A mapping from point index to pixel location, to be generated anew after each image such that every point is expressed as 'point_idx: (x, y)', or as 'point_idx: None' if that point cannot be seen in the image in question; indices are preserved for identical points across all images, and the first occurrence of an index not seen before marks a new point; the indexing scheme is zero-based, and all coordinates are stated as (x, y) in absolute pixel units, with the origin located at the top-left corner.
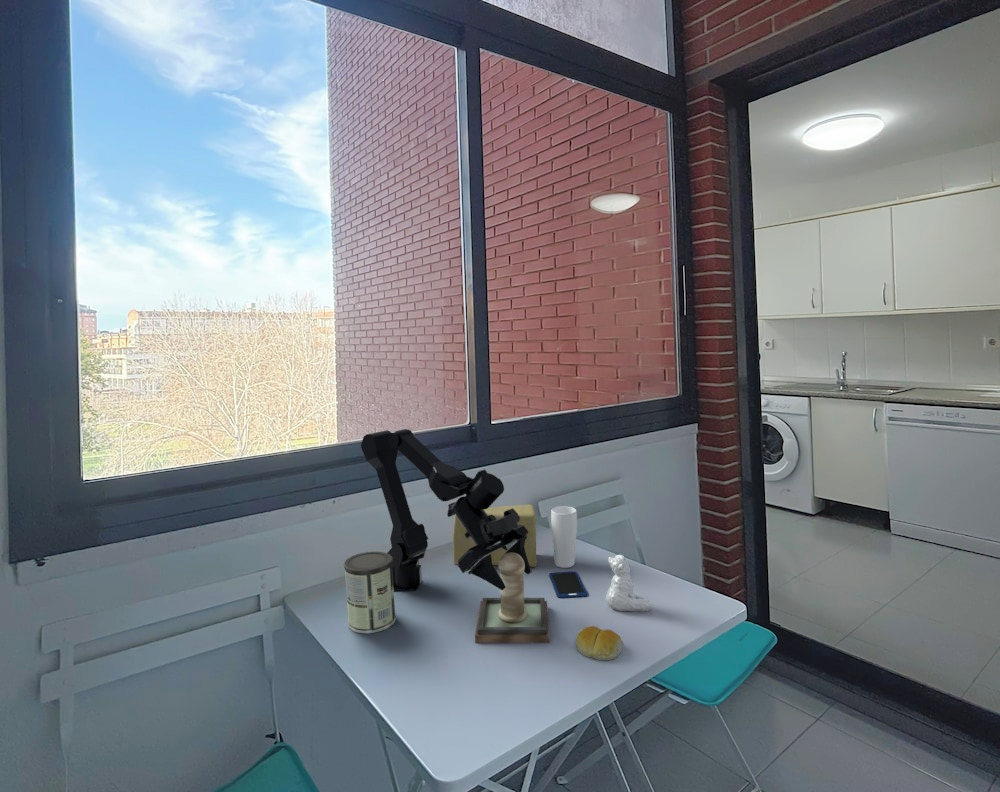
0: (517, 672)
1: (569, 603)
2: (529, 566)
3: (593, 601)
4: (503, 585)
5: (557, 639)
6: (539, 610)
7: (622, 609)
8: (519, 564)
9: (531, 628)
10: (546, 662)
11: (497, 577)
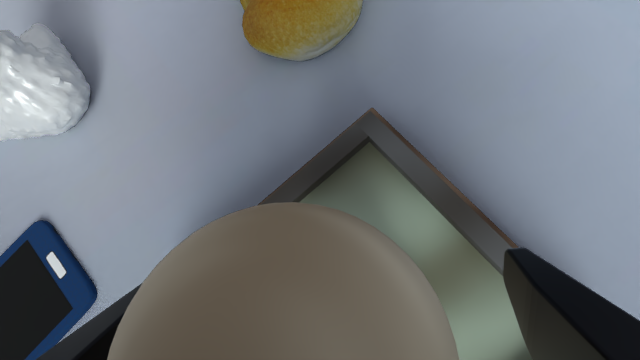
0: (594, 73)
1: (115, 237)
2: (114, 304)
3: (68, 183)
4: (532, 257)
5: (339, 114)
6: None
7: (84, 78)
8: (297, 205)
9: (404, 156)
10: (471, 52)
11: (623, 314)
